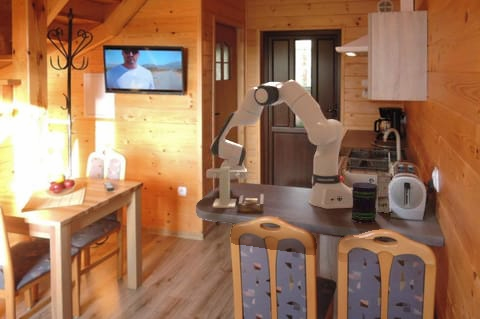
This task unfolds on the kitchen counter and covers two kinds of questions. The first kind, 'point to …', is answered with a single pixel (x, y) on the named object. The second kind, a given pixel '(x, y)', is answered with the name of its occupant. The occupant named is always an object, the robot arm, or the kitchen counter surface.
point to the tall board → (224, 185)
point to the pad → (217, 205)
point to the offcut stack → (251, 201)
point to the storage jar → (364, 202)
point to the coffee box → (383, 192)
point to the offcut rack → (251, 205)
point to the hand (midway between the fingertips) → (225, 176)
